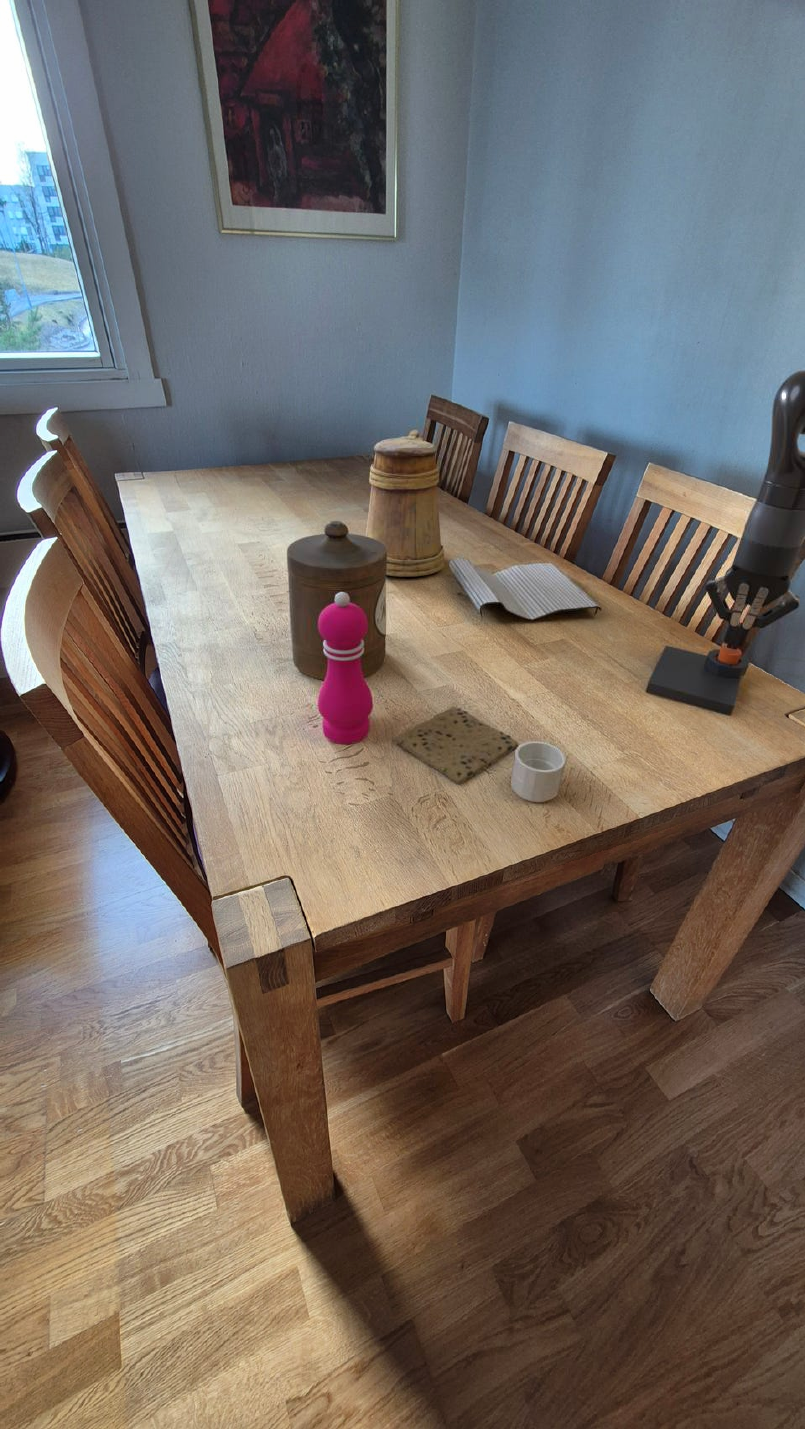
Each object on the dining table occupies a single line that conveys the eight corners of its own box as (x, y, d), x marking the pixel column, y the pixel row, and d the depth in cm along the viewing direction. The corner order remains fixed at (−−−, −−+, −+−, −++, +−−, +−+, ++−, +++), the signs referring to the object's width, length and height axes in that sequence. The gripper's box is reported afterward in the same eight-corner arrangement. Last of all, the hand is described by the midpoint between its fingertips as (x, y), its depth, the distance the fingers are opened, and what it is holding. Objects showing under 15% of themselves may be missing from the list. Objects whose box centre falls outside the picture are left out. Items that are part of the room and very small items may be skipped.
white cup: (564, 783, 77) (571, 751, 74) (549, 811, 73) (556, 778, 70) (519, 767, 79) (525, 735, 76) (502, 793, 75) (507, 761, 72)
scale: (743, 674, 100) (750, 655, 98) (733, 716, 90) (741, 696, 88) (663, 654, 105) (668, 635, 103) (645, 692, 95) (651, 672, 93)
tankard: (354, 577, 129) (351, 448, 115) (371, 539, 148) (370, 425, 134) (441, 583, 128) (450, 453, 114) (447, 544, 147) (454, 429, 133)
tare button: (739, 658, 98) (742, 649, 97) (737, 667, 96) (740, 657, 95) (718, 653, 99) (722, 644, 98) (716, 661, 97) (719, 651, 96)
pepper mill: (308, 728, 85) (298, 590, 73) (350, 709, 89) (347, 576, 78) (341, 753, 80) (336, 611, 69) (383, 732, 85) (385, 594, 73)
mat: (600, 619, 115) (606, 596, 113) (477, 627, 112) (480, 603, 109) (554, 572, 134) (557, 551, 131) (447, 577, 130) (449, 555, 128)
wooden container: (402, 667, 99) (407, 529, 87) (317, 691, 92) (309, 546, 80) (358, 630, 109) (356, 502, 97) (278, 649, 103) (266, 515, 90)
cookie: (452, 707, 90) (453, 702, 89) (520, 746, 83) (521, 740, 82) (391, 740, 83) (391, 734, 82) (458, 785, 76) (459, 779, 75)
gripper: (718, 534, 86) (682, 645, 96) (827, 553, 81) (778, 669, 91) (724, 520, 91) (690, 627, 101) (827, 537, 86) (781, 648, 96)
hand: (732, 646), depth 96 cm, fingers closed
